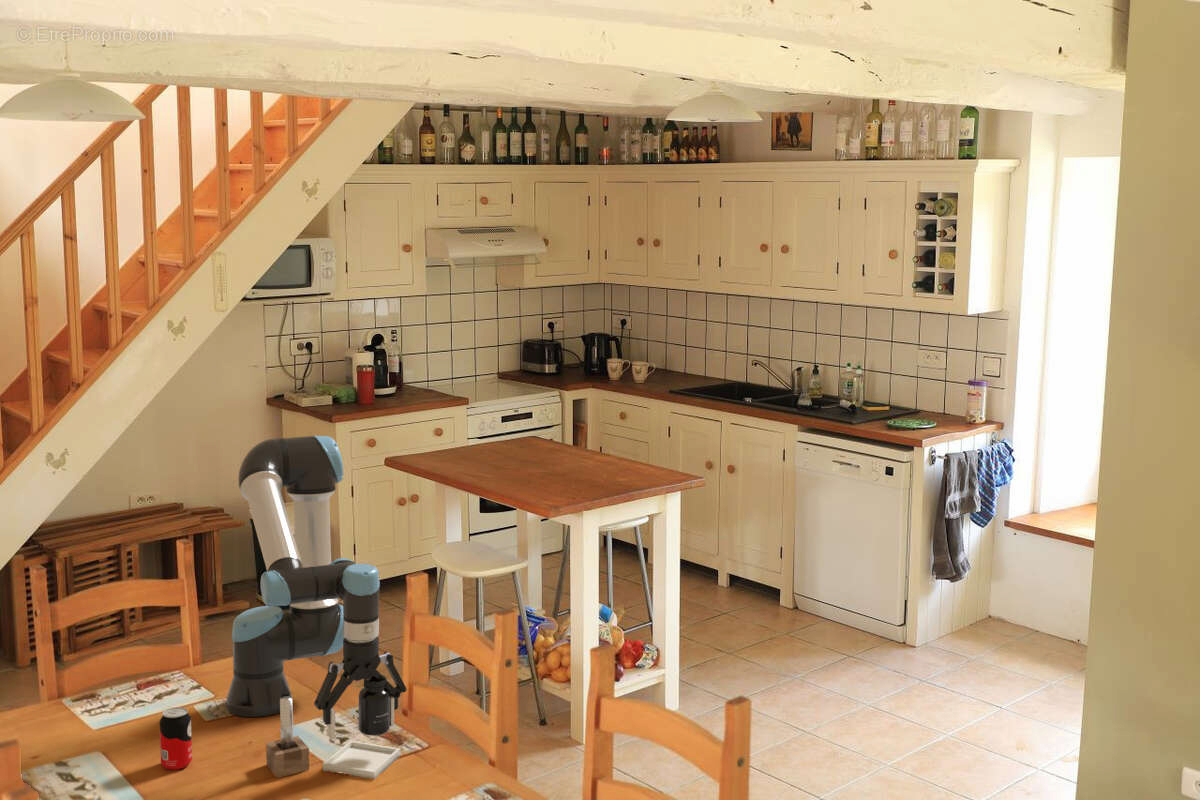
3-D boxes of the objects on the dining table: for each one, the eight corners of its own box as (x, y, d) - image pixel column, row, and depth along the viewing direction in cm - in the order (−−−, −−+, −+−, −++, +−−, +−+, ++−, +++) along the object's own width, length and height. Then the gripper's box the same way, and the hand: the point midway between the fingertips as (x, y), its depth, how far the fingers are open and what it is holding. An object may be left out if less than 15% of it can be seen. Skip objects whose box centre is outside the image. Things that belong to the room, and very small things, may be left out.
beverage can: (174, 774, 252) (172, 720, 250) (154, 766, 255) (152, 713, 253) (198, 763, 257) (197, 710, 255) (179, 756, 260) (177, 703, 258)
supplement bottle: (383, 738, 256) (383, 685, 254) (353, 734, 257) (353, 682, 256) (394, 725, 263) (395, 673, 261) (365, 721, 264) (365, 670, 262)
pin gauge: (281, 763, 254) (279, 701, 252) (281, 758, 257) (280, 696, 255) (293, 762, 255) (292, 700, 253) (294, 757, 257) (292, 695, 255)
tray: (322, 770, 255) (322, 763, 255) (350, 747, 266) (350, 740, 266) (374, 779, 251) (374, 772, 251) (400, 755, 263) (400, 748, 263)
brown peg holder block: (266, 764, 257) (266, 742, 256) (298, 757, 261) (297, 735, 260) (276, 777, 251) (276, 755, 250) (309, 770, 255) (308, 747, 254)
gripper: (310, 653, 245) (311, 750, 249) (421, 632, 259) (421, 725, 262) (298, 641, 251) (299, 736, 255) (407, 622, 265) (407, 712, 268)
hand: (361, 730), depth 258 cm, fingers open, 13 cm apart
